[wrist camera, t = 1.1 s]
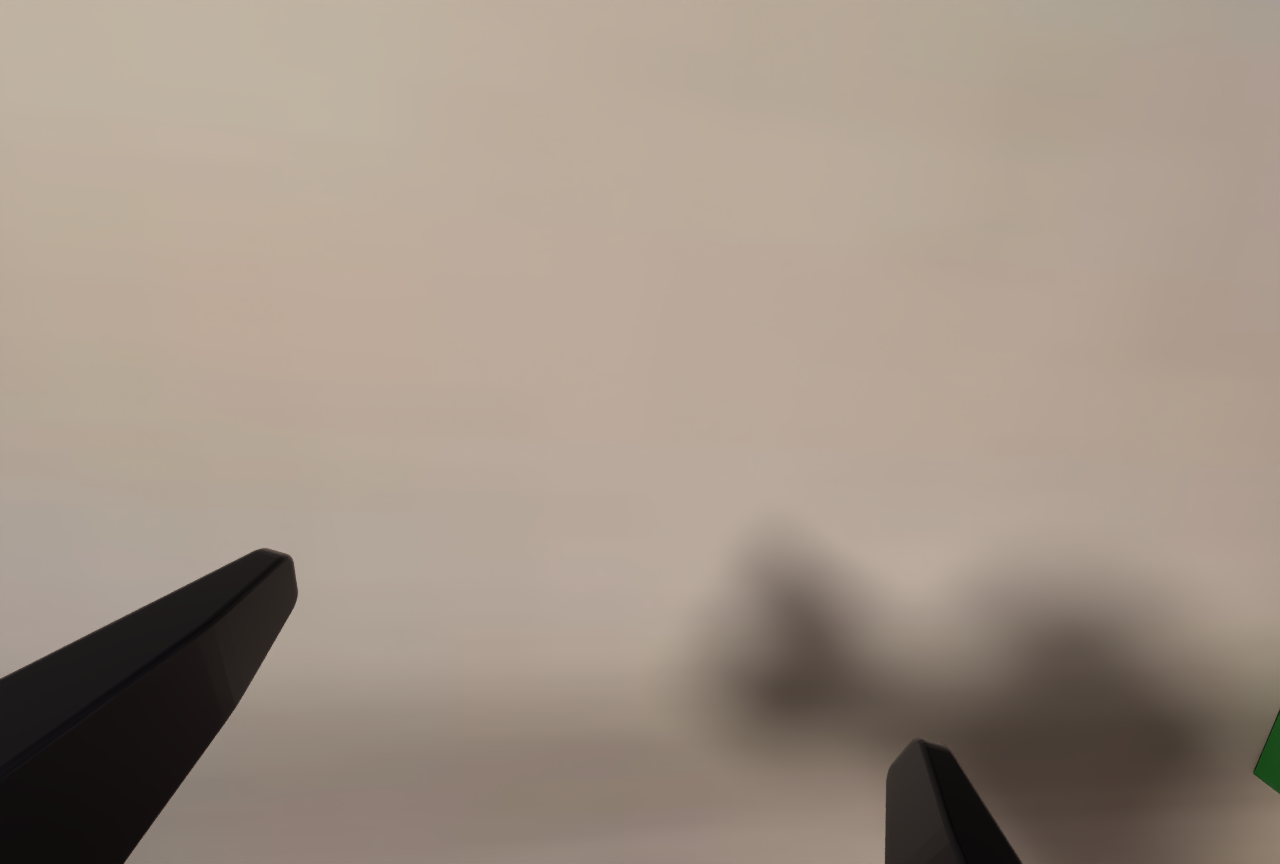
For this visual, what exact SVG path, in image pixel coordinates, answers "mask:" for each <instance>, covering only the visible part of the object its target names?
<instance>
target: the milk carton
mask: <svg viewBox="0 0 1280 864" xmlns="http://www.w3.org/2000/svg"><path fill="white" fill-rule="evenodd" d="M1254 775H1255V776H1257V777H1258V778H1259V779H1261V780H1262V781H1263V782H1265V783H1266V784H1267V785H1269V786H1270V787H1272V788H1273V789H1274V790H1276V791H1277V792H1278V793H1280V713H1279V715H1278V717H1277V720H1276V722H1275V724H1274V727H1273V729H1272V731H1271V734H1270V736H1269V738H1268V741H1267V743H1266V746H1265V748H1264V750H1263V753H1262V755H1261V757H1260V760H1259V762H1258V764H1257V767H1256V769H1255V772H1254Z"/></svg>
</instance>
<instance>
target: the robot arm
mask: <svg viewBox="0 0 1280 864" xmlns="http://www.w3.org/2000/svg"><path fill="white" fill-rule="evenodd" d="M297 596H298V588H297V582H296V575H295V568H294V562H293V559H292V557H291V556H290V555H288V554H285V553H282V552H278V551H275V550H271V549H267V548H262V549H258V550H255V551H253V552H251V553H249V554H247V555H245V556H243V557H241V558H239V559H237V560H235V561H233V562H231V563H229V564H227V565H225V566H223V567H221V568H219V569H217V570H215V571H213V572H211V573H209V574H207V575H205V576H203V577H201V578H199V579H197V580H195V581H193V582H192V583H190V584H188V585H186V586H184V587H182V588H180V589H178V590H176V591H174V592H172V593H170V594H168V595H166V596H164V597H162V598H160V599H158V600H156V601H154V602H152V603H150V604H148V605H146V606H144V607H142V608H140V609H138V610H136V611H134V612H132V613H130V614H128V615H126V616H124V617H122V618H120V619H118V620H116V621H114V622H112V623H110V624H108V625H106V626H104V627H102V628H100V629H98V630H96V631H94V632H92V633H90V634H88V635H86V636H84V637H82V638H80V639H78V640H76V641H74V642H72V643H70V644H68V645H66V646H64V647H62V648H60V649H58V650H56V651H55V652H53V653H51V654H49V655H47V656H45V657H43V658H41V659H39V660H37V661H35V662H33V663H31V664H29V665H27V666H25V667H23V668H21V669H19V670H17V671H15V672H13V673H11V674H9V675H7V676H5V677H3V678H1V679H0V864H124V862H125V861H126V860H127V858H128V857H129V856H130V854H131V853H132V851H133V850H134V849H135V847H136V846H137V844H138V843H139V842H140V840H141V839H142V837H143V836H144V835H145V833H146V832H147V831H148V829H149V828H150V826H151V825H152V824H153V822H154V821H155V819H156V818H157V817H158V815H159V814H160V813H161V811H162V810H163V808H164V807H165V806H166V804H167V803H168V801H169V800H170V799H171V797H172V796H173V794H174V793H175V792H176V790H177V789H178V788H179V786H180V785H181V783H182V782H183V781H184V779H185V778H186V776H187V775H188V774H189V772H190V771H191V770H192V768H193V767H194V765H195V764H196V763H197V761H198V760H199V758H200V757H201V756H202V754H203V753H204V751H205V750H206V749H207V747H208V746H209V745H210V743H211V742H212V740H213V739H214V738H215V736H216V735H217V733H218V732H219V731H220V729H221V728H222V727H223V725H224V724H225V722H226V721H227V719H228V718H229V716H230V715H231V714H232V712H233V711H234V709H235V708H236V706H237V705H238V703H239V701H240V700H241V698H242V696H243V695H244V693H245V691H246V690H247V688H248V686H249V685H250V683H251V681H252V679H253V678H254V676H255V674H256V672H257V671H258V669H259V667H260V666H261V664H262V662H263V660H264V659H265V657H266V655H267V653H268V652H269V650H270V648H271V647H272V645H273V643H274V641H275V640H276V638H277V636H278V634H279V633H280V631H281V629H282V627H283V626H284V624H285V622H286V621H287V619H288V617H289V615H290V614H291V612H292V610H293V608H294V606H295V604H296V601H297ZM885 864H1022V862H1021V860H1020V859H1019V857H1018V856H1017V854H1016V853H1015V851H1014V849H1013V848H1012V846H1011V845H1010V843H1009V842H1008V840H1007V838H1006V837H1005V835H1004V834H1003V832H1002V830H1001V829H1000V827H999V826H998V824H997V823H996V821H995V819H994V818H993V816H992V815H991V813H990V811H989V810H988V808H987V807H986V805H985V804H984V802H983V800H982V799H981V797H980V796H979V794H978V793H977V791H976V789H975V788H974V786H973V785H972V783H971V781H970V780H969V778H968V777H967V775H966V774H965V772H964V770H963V769H962V767H961V766H960V764H959V763H958V761H957V759H956V758H955V756H954V755H953V753H952V752H951V751H950V750H949V748H948V747H946V746H945V745H943V744H941V743H937V742H934V741H931V740H927V739H924V738H915V739H913V740H912V741H911V742H910V743H909V744H908V746H907V747H906V748H905V749H904V750H903V751H902V753H901V754H900V755H899V756H898V757H897V758H896V760H895V761H894V762H893V763H892V764H891V766H890V768H889V770H888V774H887V780H886V829H885Z"/></svg>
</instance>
